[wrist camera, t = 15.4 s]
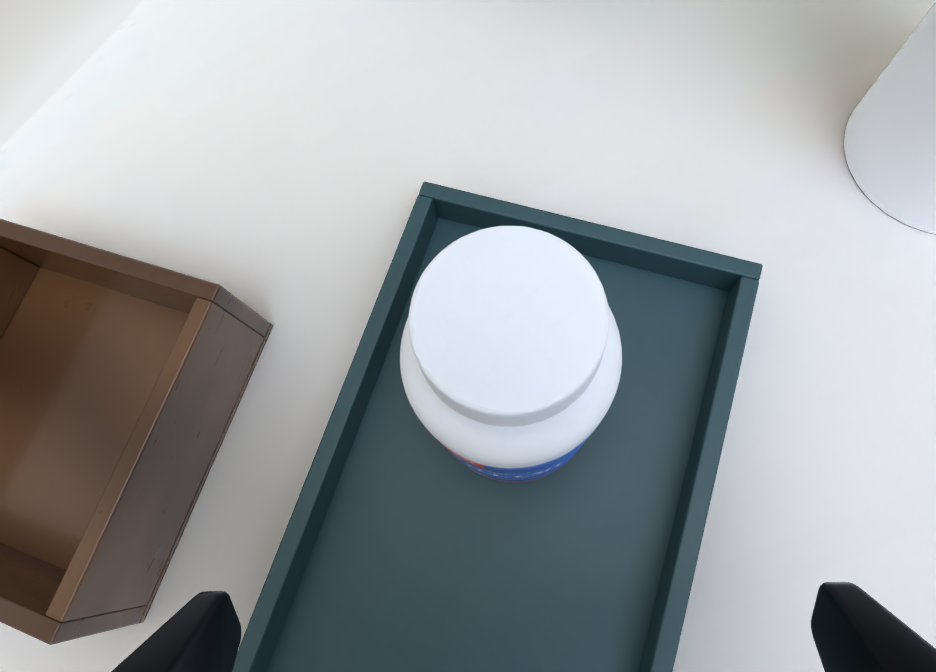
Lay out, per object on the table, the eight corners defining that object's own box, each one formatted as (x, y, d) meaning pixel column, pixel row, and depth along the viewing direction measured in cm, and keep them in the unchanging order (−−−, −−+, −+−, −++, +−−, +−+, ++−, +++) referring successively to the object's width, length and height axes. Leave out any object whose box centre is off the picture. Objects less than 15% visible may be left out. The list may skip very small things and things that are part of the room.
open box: (143, 622, 21) (50, 645, 17) (-107, 514, 23) (-242, 512, 19) (273, 325, 24) (220, 284, 20) (40, 253, 26) (-51, 203, 22)
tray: (606, 888, 17) (614, 933, 15) (234, 719, 20) (202, 740, 18) (744, 286, 22) (763, 263, 20) (431, 207, 24) (423, 180, 23)
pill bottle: (421, 464, 21) (331, 417, 12) (456, 319, 22) (402, 174, 13) (580, 501, 20) (620, 481, 11) (606, 347, 21) (661, 212, 12)
